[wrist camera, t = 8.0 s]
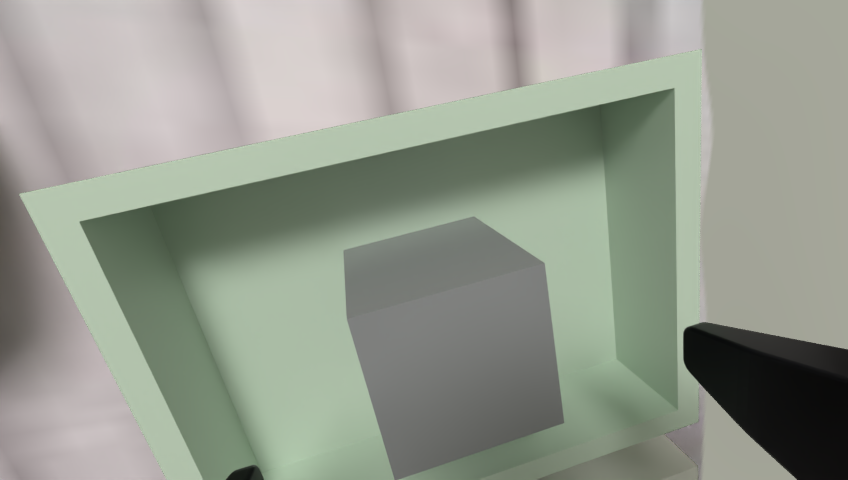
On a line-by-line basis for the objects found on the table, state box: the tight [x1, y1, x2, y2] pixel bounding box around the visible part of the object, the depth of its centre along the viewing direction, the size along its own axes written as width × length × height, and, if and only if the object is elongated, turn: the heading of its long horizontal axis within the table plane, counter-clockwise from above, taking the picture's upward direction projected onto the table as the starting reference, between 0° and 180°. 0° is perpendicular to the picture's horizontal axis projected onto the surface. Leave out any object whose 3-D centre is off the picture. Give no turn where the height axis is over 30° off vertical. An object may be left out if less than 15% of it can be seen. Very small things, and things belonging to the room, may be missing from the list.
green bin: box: [19, 49, 702, 480], centre depth 13 cm, size 12×16×4 cm
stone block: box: [343, 216, 564, 480], centre depth 12 cm, size 4×4×5 cm
